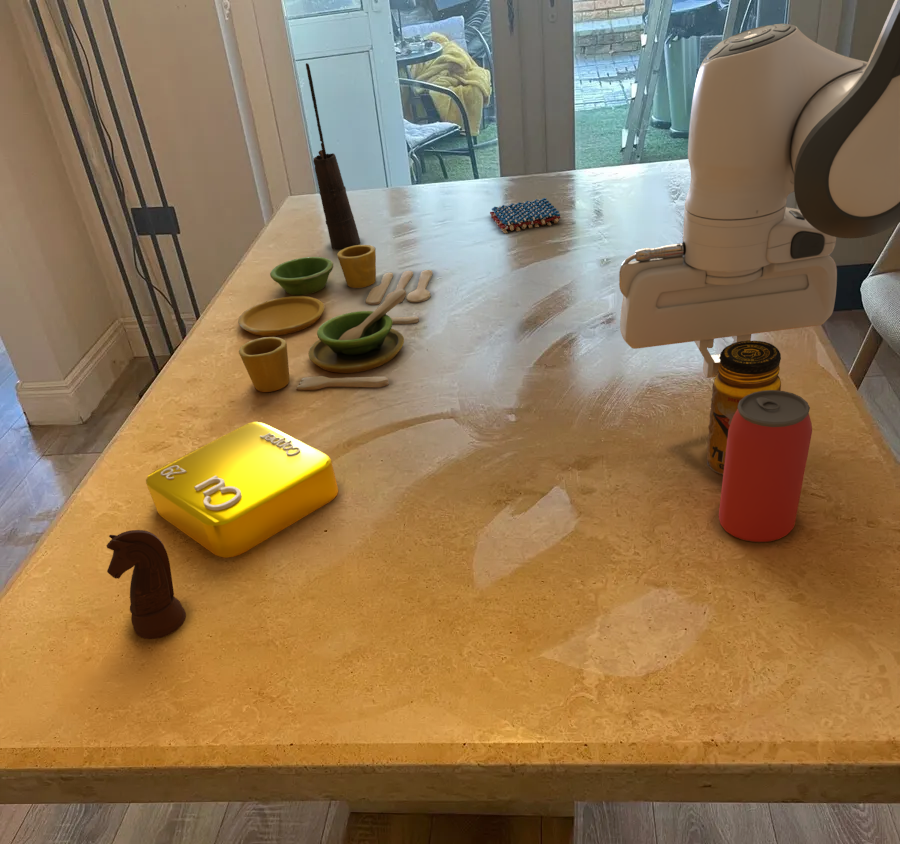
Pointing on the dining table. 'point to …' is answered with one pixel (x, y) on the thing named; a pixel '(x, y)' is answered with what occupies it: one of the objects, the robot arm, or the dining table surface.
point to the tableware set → (328, 323)
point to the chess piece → (147, 583)
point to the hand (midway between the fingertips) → (718, 374)
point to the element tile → (242, 488)
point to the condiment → (738, 389)
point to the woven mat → (524, 215)
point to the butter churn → (333, 193)
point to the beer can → (765, 465)
